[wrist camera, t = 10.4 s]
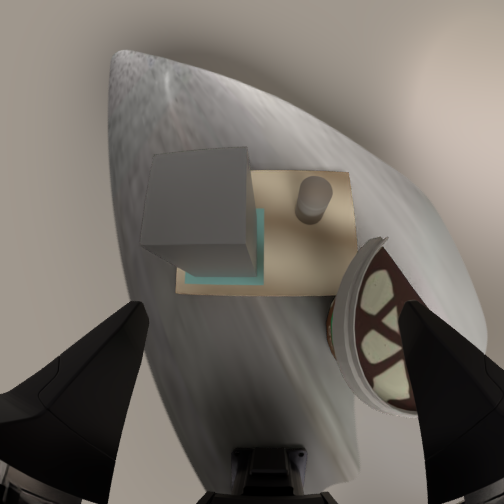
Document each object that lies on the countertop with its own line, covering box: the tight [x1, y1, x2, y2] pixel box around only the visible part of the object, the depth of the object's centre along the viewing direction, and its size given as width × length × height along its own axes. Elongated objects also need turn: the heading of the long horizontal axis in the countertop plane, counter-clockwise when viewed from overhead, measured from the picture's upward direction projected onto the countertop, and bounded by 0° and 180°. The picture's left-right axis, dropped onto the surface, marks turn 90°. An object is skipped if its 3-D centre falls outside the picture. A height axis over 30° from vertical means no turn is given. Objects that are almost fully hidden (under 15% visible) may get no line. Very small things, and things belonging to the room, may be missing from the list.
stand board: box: [175, 170, 358, 296], centre depth 21 cm, size 11×15×5 cm
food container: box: [326, 237, 429, 418], centre depth 16 cm, size 12×6×10 cm, turn 36°
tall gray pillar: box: [140, 147, 257, 277], centre depth 17 cm, size 5×5×10 cm
